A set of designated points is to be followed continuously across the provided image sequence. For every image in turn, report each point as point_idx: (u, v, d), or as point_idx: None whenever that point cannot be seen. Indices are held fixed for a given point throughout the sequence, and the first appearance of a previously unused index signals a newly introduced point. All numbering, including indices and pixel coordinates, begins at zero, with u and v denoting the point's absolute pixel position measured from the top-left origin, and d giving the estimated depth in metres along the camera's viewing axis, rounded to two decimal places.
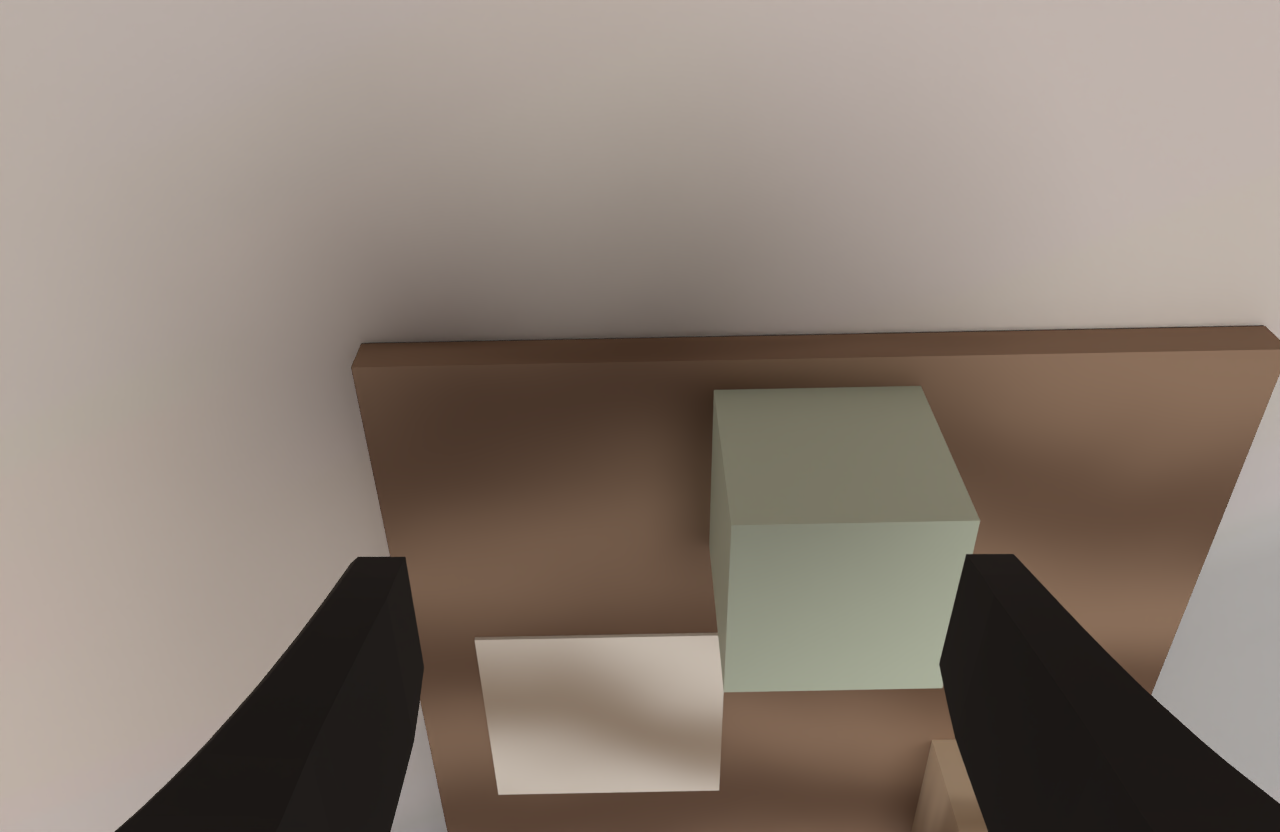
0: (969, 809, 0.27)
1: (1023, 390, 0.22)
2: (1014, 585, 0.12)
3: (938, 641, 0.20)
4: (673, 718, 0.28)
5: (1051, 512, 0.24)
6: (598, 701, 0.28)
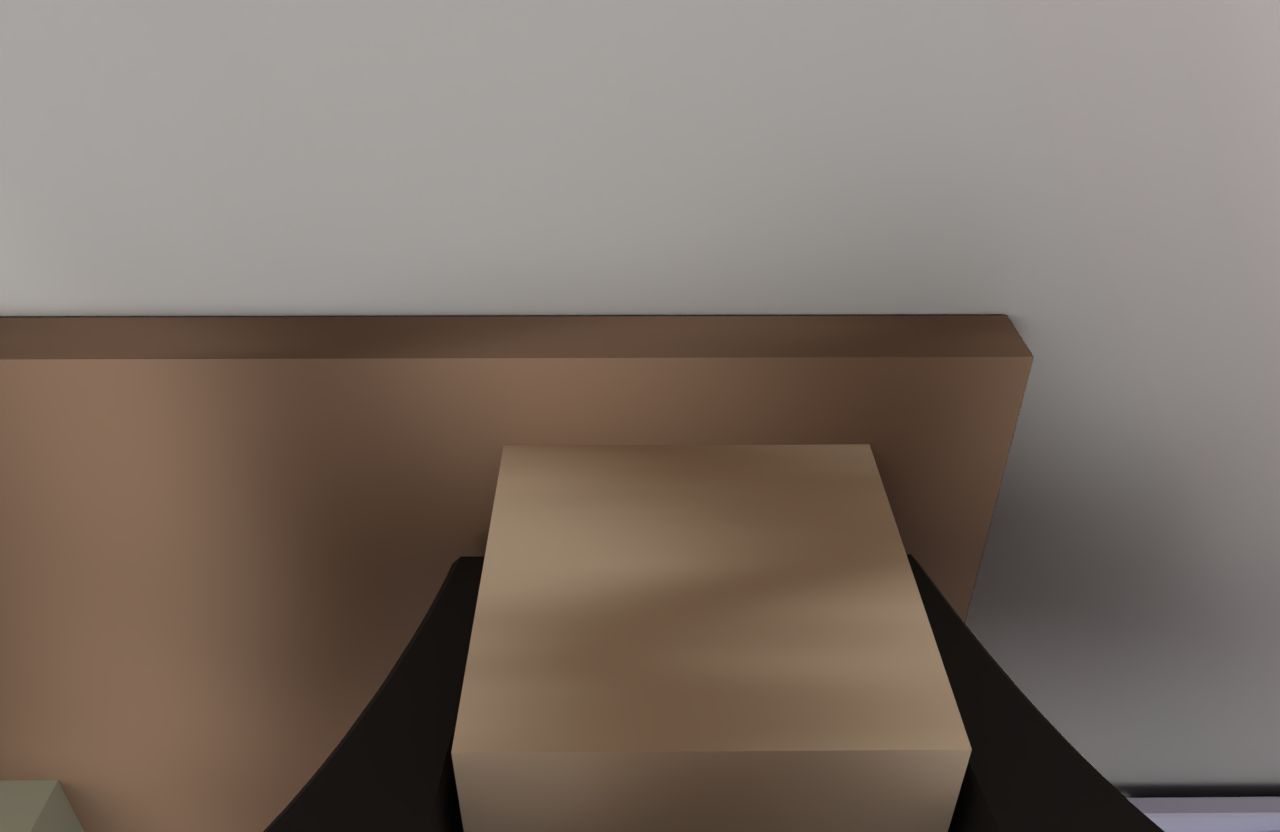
0: None
1: None
2: None
3: None
4: None
5: None
6: None
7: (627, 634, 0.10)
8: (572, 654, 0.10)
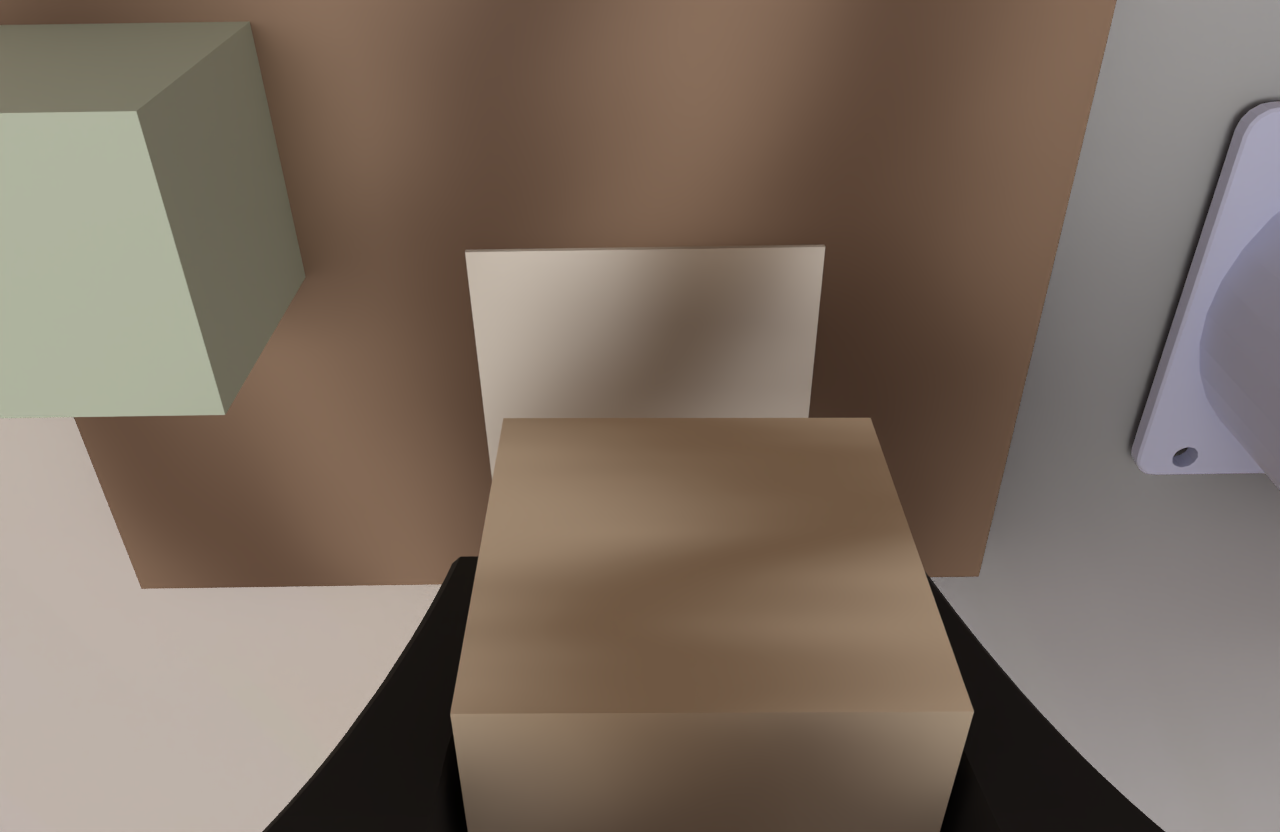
0: None
1: None
2: None
3: (29, 137, 0.13)
4: (645, 315, 0.19)
5: None
6: (608, 405, 0.20)
7: (627, 599, 0.10)
8: (573, 618, 0.10)
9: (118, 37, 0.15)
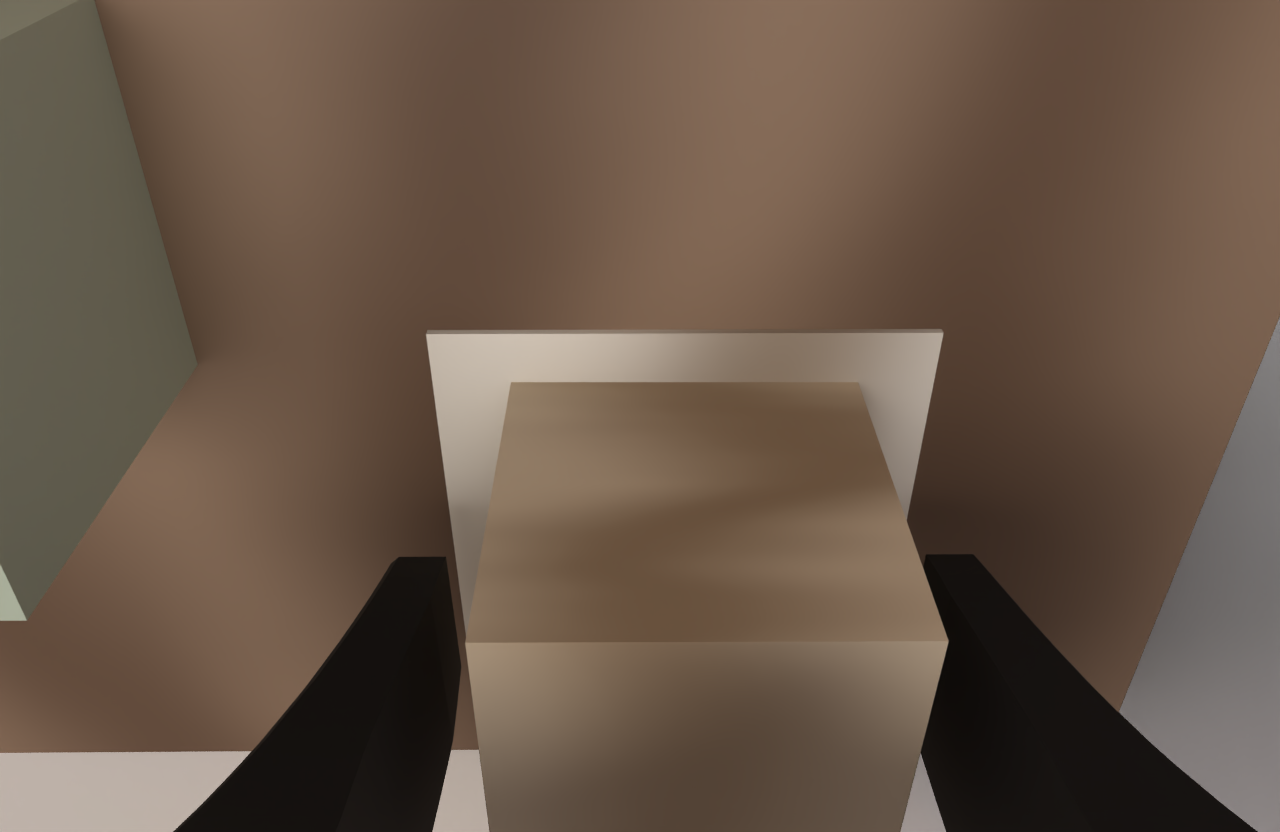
0: None
1: None
2: (971, 585, 0.12)
3: None
4: None
5: None
6: None
7: (628, 543, 0.11)
8: (578, 560, 0.10)
9: None
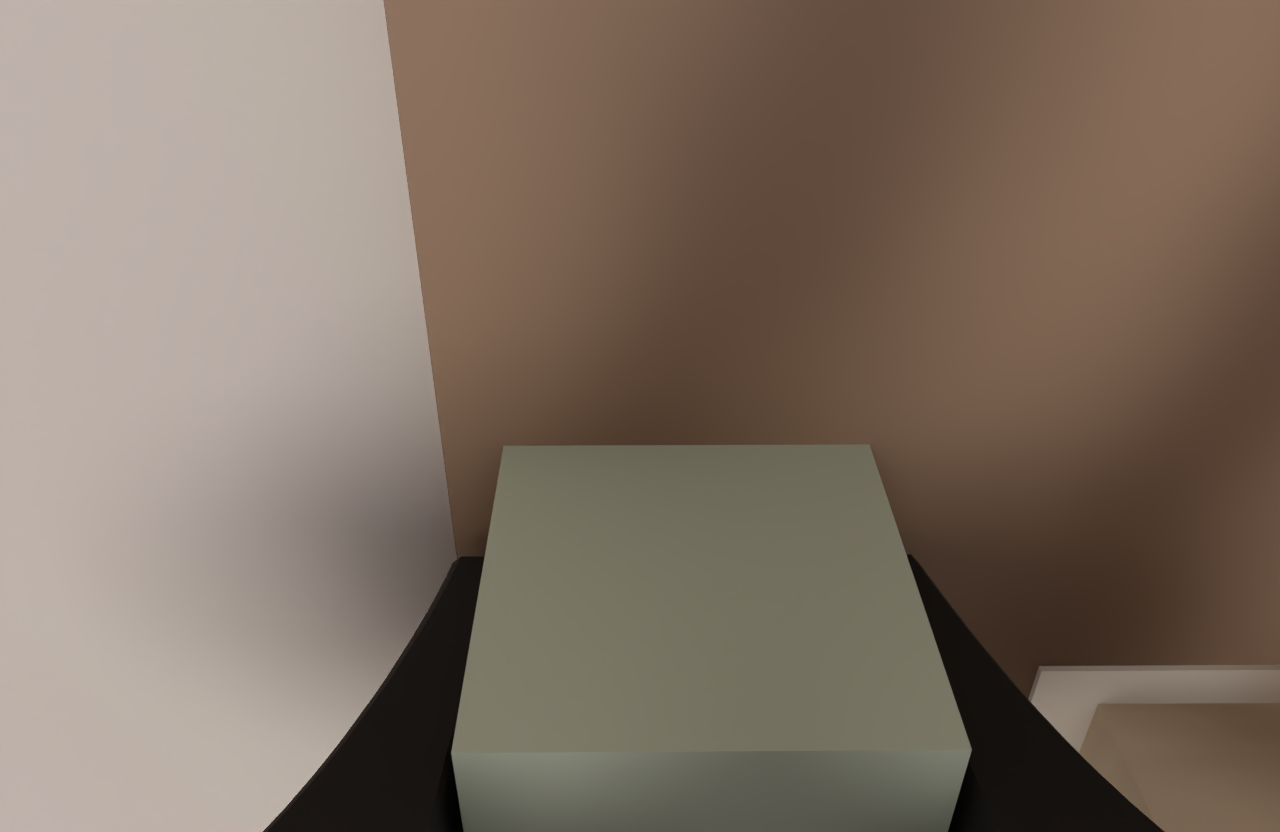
0: None
1: (505, 277, 0.11)
2: None
3: (807, 774, 0.09)
4: None
5: (833, 160, 0.10)
6: None
7: None
8: None
9: (737, 490, 0.12)
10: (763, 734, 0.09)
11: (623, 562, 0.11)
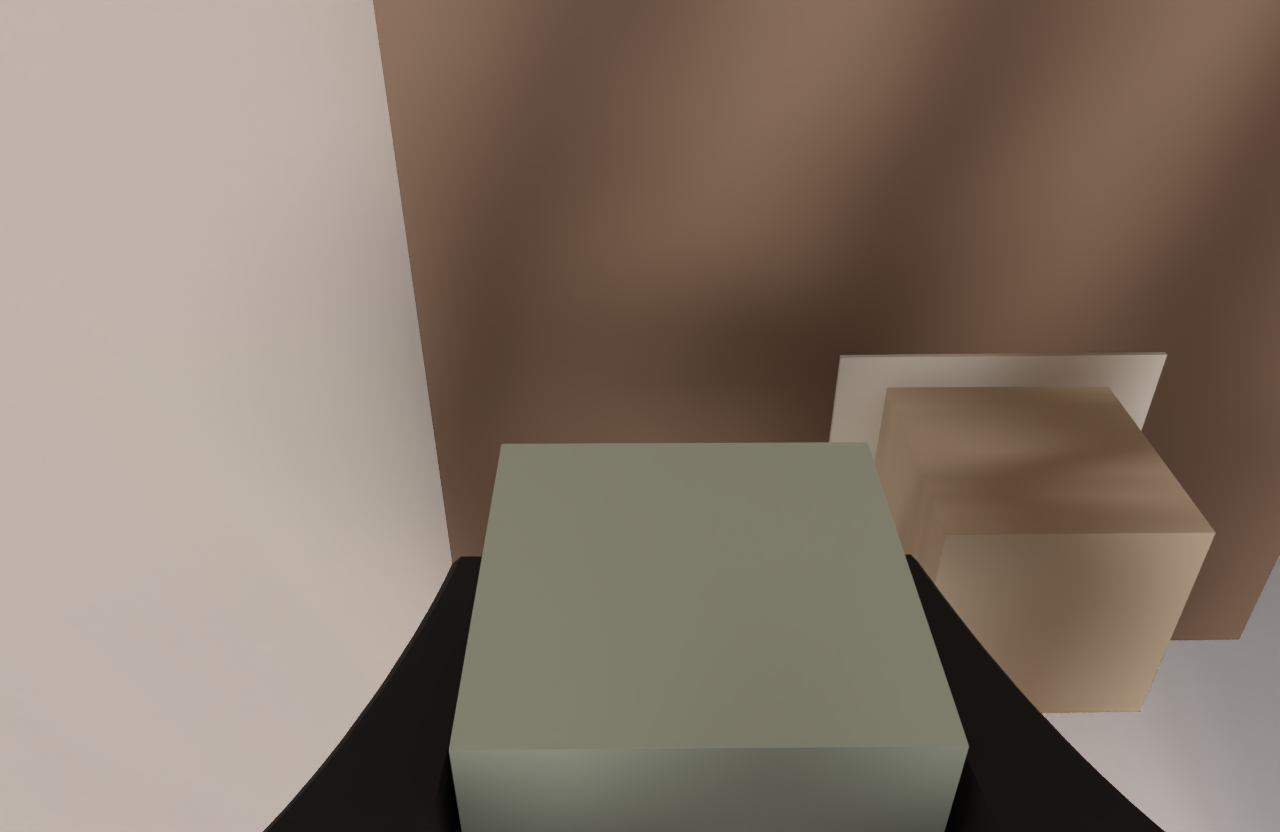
0: None
1: (434, 27, 0.17)
2: None
3: (804, 771, 0.09)
4: None
5: None
6: None
7: (1011, 482, 0.18)
8: (985, 492, 0.18)
9: (735, 488, 0.12)
10: (759, 732, 0.09)
11: (622, 559, 0.11)
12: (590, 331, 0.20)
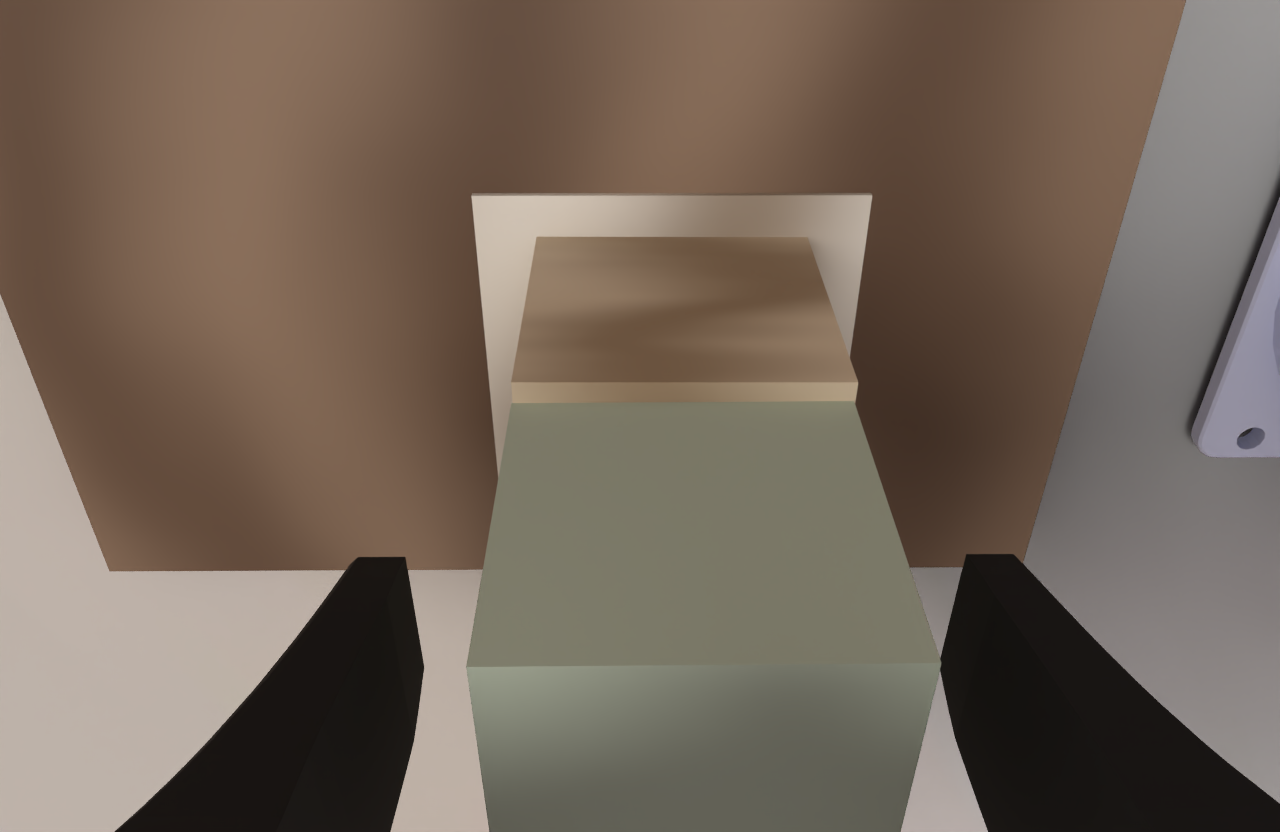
0: None
1: None
2: (1014, 585, 0.12)
3: (791, 686, 0.10)
4: None
5: None
6: None
7: (628, 329, 0.14)
8: (590, 338, 0.14)
9: (729, 442, 0.13)
10: (750, 651, 0.10)
11: (624, 504, 0.12)
12: (156, 158, 0.16)
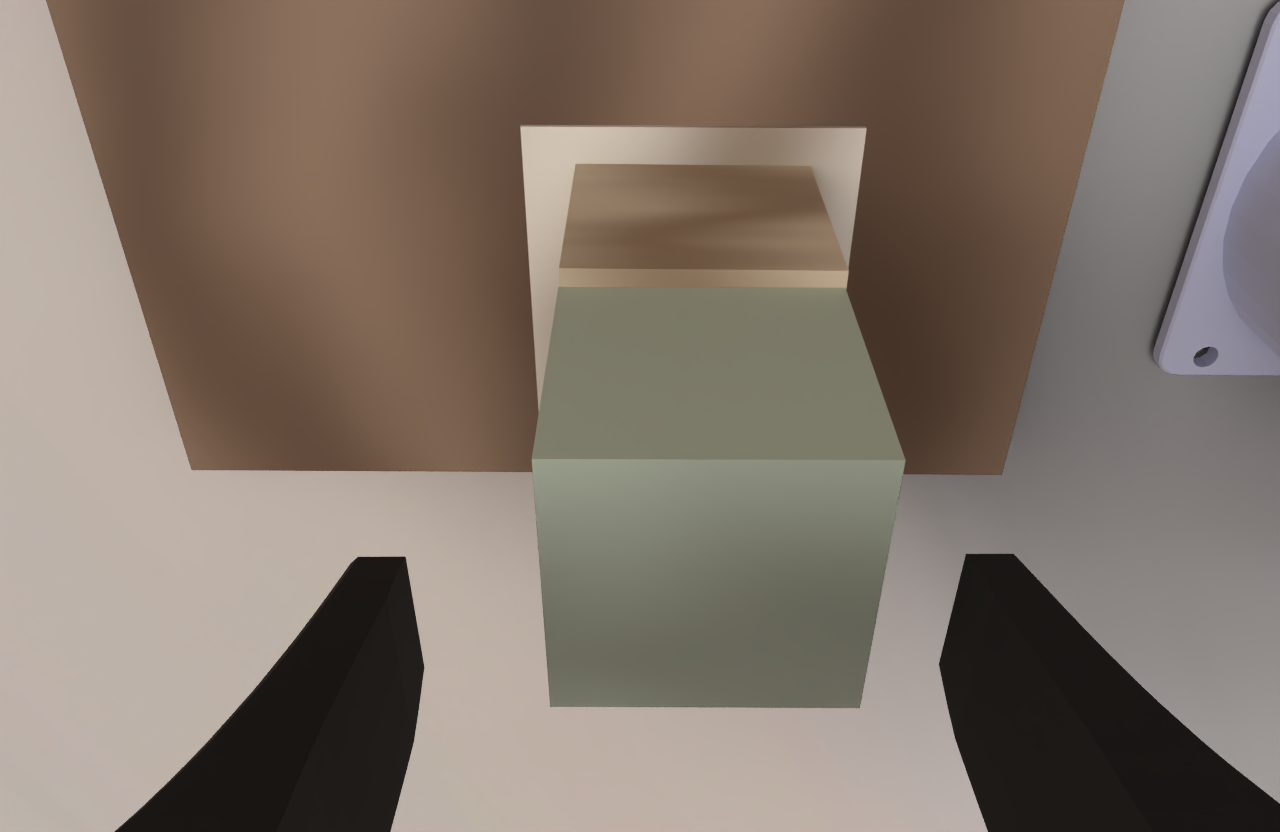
0: None
1: None
2: (1014, 585, 0.12)
3: (787, 480, 0.12)
4: None
5: None
6: None
7: (656, 232, 0.17)
8: (624, 238, 0.17)
9: (740, 315, 0.15)
10: (754, 451, 0.12)
11: (653, 356, 0.14)
12: (252, 92, 0.19)
